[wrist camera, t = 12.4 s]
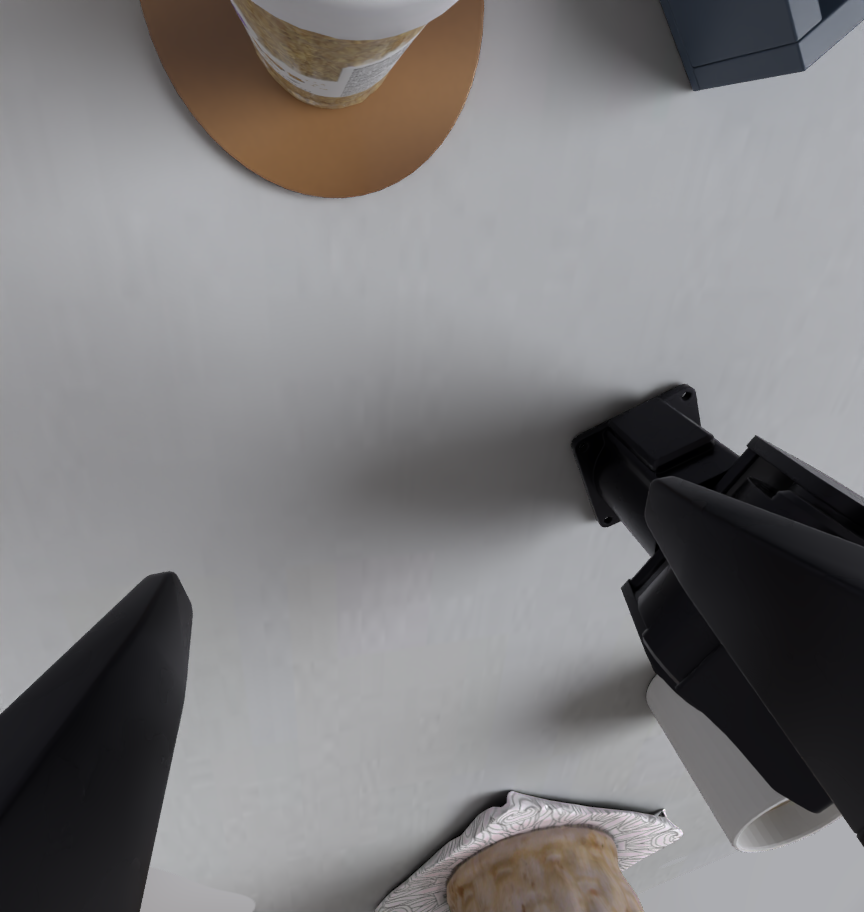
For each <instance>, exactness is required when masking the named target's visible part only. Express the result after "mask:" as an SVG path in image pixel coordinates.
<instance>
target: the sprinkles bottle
mask: <svg viewBox="0 0 864 912" xmlns="http://www.w3.org/2000/svg"><path fill="white" fill-rule="evenodd" d="M230 1H231V3H232V5H233V7H234V8H235V10H236V12H237V14H238V16H239V18H240V19H241V21H242V23H243V25H244V27H245V29H246V31H247V32H248V34H249V36H250V38H251V40H252V42H253V46H254V48H255V50H256V53H257V55H258V56H259V58H260V60H261V61H262V63H263V65H264V66H265V68H266V69H267V71H268V72H269V73H270V74H271V75H272V77H273V78H274V79H275V80H276V81H277V82H278V83H279V84H280V85H281V86H282V87H283V88H284V89H285V90H286V91H288V92H289V93H290V94H291V95H293V96H294V97H295V98H297V99H298V100H300V101H302V102H304V103H307V104H310V105H313V106H316V107H319V108H329V109H340V108H344V107H348V106H351V105H356V104H359V103H361V102H363V101H364V100H365V99H366V98H367V97H368V96H369V95H370V94H372V93H373V92H375V91H376V90H377V89H378V88H379V86H380V85H381V84H382V83H383V81H384V80H385V78H386V77H387V75H388V73H389V71H390V70H391V69H392V67H393V66H394V65H395V63H396V62H397V61H398V59H399V58H400V57H401V56H402V54H403V53H404V52H405V50H406V49H407V48H408V47H409V45H410V44H411V43H412V41H413V40H414V39H415V38H416V37H417V35H418V34H419V33H420V32H421V31H422V29H423V28H424V27H425V26H426V25H427V23H428V22H430V21H432V20H433V19H435V18H437V17H438V16H440V15H442V14H443V13H444V12H445V11H447V10H448V9H449V8H450V7H451V6H453V5H454V4H455V3H456V2H457V1H459V0H230Z"/></svg>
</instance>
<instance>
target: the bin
mask: <svg viewBox="0 0 864 912" xmlns="http://www.w3.org/2000/svg"><path fill="white" fill-rule="evenodd" d="M660 3H661V6H662V8H663V11H664V14H665V16H666V19H667V22H668V24H669V27H670V30H671V32H672V35H673V38H674V40H675V43H676V46H677V48H678V51H679V54H680V57H681V59H682V62H683V65H684V67H685V70H686V73H687V75H688V78H689V81H690V83H691V86H692V89H693V91H698V90H703V89H708V88H714V87H719V86H725V85H730V84H736V83H741V82H747V81H752V80H758V79H764V78H769V77H775V76H780V75H786V74H791V73H797V72H802V71H805V70H806V69H807V68H808V67H810V66H811V65H812V64H813V63H814V62H815V61H816V60H818V59H819V58H820V57H821V56H822V55H823V54H825V53H826V52H827V51H828V50H829V49H830V48H832V47H833V46H834V45H835V44H836V43H837V42H839V41H840V40H841V39H842V38H843V37H844V36H846V35H847V34H848V33H849V32H850V31H851V30H853V29H854V28H855V27H856V26H857V25H858V24H859V23H861V22H862V21H863V20H864V0H660Z"/></svg>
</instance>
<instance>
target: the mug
mask: <svg viewBox="0 0 864 912" xmlns="http://www.w3.org/2000/svg"><path fill="white" fill-rule="evenodd" d="M646 698H647V703H648V706H649V708H650V709H651V711H652V713H653V714H654V716H655V718H656V719H657V721H658V723H659V724H660V726H661V728H662V729H663V731H664V733H665V734H666V736H667V738H668V739H669V741H670V743H671V744H672V746H673V748H674V749H675V751H676V753H677V754H678V756H679V758H680V759H681V761H682V763H683V764H684V766H685V768H686V769H687V771H688V773H689V774H690V776H691V778H692V779H693V781H694V783H695V784H696V786H697V788H698V789H699V791H700V793H701V794H702V796H703V798H704V799H705V801H706V803H707V804H708V806H709V808H710V809H711V811H712V813H713V814H714V816H715V818H716V819H717V821H718V823H719V824H720V826H721V828H722V829H723V831H724V833H725V834H726V836H727V838H728V839H729V841H730V843H731V844H732V846H733V847H734V848H736V849H737V850H739V851H741V852H762V851H768V850H772V849H776V848H779V847H782V846H785V845H789V844H791V843H794V842H797V841H799V840H801V839H804V838H806V837H808V836H810V835H812V834H814V833H816V832H818V831H820V830H822V829H824V828H825V827H827V826H828V825H830V824H832V823H833V822H835V821H836V820H838V819H839V818H840V817H842V814H841V813H840V812H839V810H838V809H837V807H836V806H835V804H833V805H831V806H830V807H828V808H827V809H825V810H824V811H822V812H821V813H819V814H816V813H812V812H810V811H808V810H806V809H804V808H802V807H801V806H799V805H797V804H796V803H794V802H792V801H791V800H789V799H787V798H786V797H784V796H782V795H781V794H779V793H777V792H776V791H775V790H773V789H772V788H771V787H770V786H769V784H768V783H767V782H766V781H765V780H764V779H763V777H762V776H761V775H760V774H759V773H758V771H757V770H756V769H755V768H754V767H753V766H752V764H751V763H750V762H749V761H748V760H747V759H746V757H745V756H744V755H743V754H742V753H741V752H740V750H739V749H738V748H737V747H736V746H735V745H734V744H733V743H732V742H731V740H730V739H729V738H728V737H727V736H726V735H725V734H724V733H723V732H722V731H721V730H720V729H719V728H718V727H717V726H716V725H715V724H714V723H713V722H712V721H711V720H709V719H708V718H707V717H706V716H705V715H704V714H703V713H702V712H700V711H698V710H697V709H695V708H694V707H693V706H691V705H690V704H688V703H687V702H686V701H685V700H683V699H682V698H681V697H680V696H679V695H678V694H676V693H675V692H674V691H673V690H672V689H671V688H670V687H669V686H668V685H667V683H666V682H665V681H664V680H663V679H662V678H661V677H659V676H658V675H656V676H655V677H654V679H653V680H652V682H651V683H650V685H649V687H648V690H647V694H646Z"/></svg>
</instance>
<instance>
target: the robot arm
mask: <svg viewBox="0 0 864 912" xmlns="http://www.w3.org/2000/svg"><path fill="white" fill-rule="evenodd" d="M685 392H686V394H685V395H684V396H683V397H682V395H683V394H684V393H685ZM681 397H682V398H681ZM582 443H585V444H584V445H583V446H582V447H579V446H580V445H581V444H582ZM747 447H748V448H747V449H746V451H745V452H744V453H743V454H742V455H741V456H739V455H737V454H736V453H734V452H733V451H731V450H730V449H729V448H727V447H726V446H724V445H723V444H722V443H720V442H719V441H717V440H716V439H715V438H714V436H713V435H712V434H710V433H709V432H708V431H706V430H705V429H703V428H702V427H701V424H700V417H699V411H698V404H697V398H696V392H695V389H693V388H692V387H690V386H689V385H687V384H682V385H679V386H677V387H675V388H673V389H671V390H669V391H667V392H665V393H663V394H661V395H659V396H657V397H655V398H653V399H651V400H649V401H647V402H645V403H643V404H641V405H639V406H637V407H635V408H633V409H631V410H629V411H627V412H624V413H622V414H620V415H618V416H616V417H614V418H612V419H610V420H608V421H606V422H604V423H602V424H600V425H598V426H596V427H594V428H592V429H590V430H588V431H586V432H584V433H582V434H580V435H578V436H577V437H575V438H574V439H573V441H572V443H571V448H572V451H573V454H574V457H575V459H576V462H577V465H578V468H579V471H580V474H581V477H582V480H583V482H584V485H585V488H586V491H587V494H588V497H589V500H590V503H591V506H592V508H593V511H594V514H595V517H596V520H597V521H598V523H599V524H600V525H601V526H602V527H609V526H611V525H613V524H615V523H618V522H620V521H622V523H623V524H624V525H625V526H626V527H627V529H628V530H629V531H630V532H631V533H632V535H633V536H634V537H635V538H636V539H637V541H638V542H639V543H640V544H641V545H642V547H643V548H644V549H645V550H646V551H647V553H648V554H649V555H650V556H651V558H650V559H649V560H648V561H647V562H646V564H645V565H644V566H643V567H642V568H641V569H640V570H639V571H638V573H637V574H636V575H635V576H634V577H633V578H632V579H629V580H628V581H627V582H626V583H625V584H624V585H623V586H622V587H621V590H622V592H623V595H624V597H625V600H626V603H627V605H628V608H629V611H630V613H631V616H632V618H633V621H634V624H635V626H636V629H637V631H638V634H639V637H640V639H641V642H642V645H643V647H644V650H645V652H646V654H647V657H648V659H649V661H650V663H651V665H652V668H653V670H654V671H655V673H656V674H657V675H658V676H659V677H661V678H662V679H663V680H664V681H665V682H666V683H667V685H668V686H669V687H670V688H671V689H672V690H673V691H674V692H675V693H676V694H678V695H679V696H680V697H681V698H682V699H683V700H685V701H686V702H687V703H688V704H690V705H691V706H693V707H694V708H695V709H697V710H698V711H700V712H702V713H703V714H704V715H705V716H706V717H707V718H708V719H709V720H711V721H712V722H713V723H714V724H715V725H716V726H717V727H718V728H719V729H720V730H721V731H722V732H723V733H724V734H725V735H726V736H727V737H728V738H729V739H730V740H731V742H732V743H733V744H734V745H735V746H736V747H737V748H738V749H739V750H740V752H741V753H742V754H743V755H744V756H745V757H746V759H747V760H748V761H749V762H750V763H751V764H752V766H753V767H754V768H755V769H756V770H757V771H758V773H759V774H760V775H761V776H762V777H763V779H764V780H765V781H766V782H767V783H768V784H769V786H770V787H771V788H772V789H773V790H775V791H776V792H777V793H779V794H781V795H782V796H784V797H786V798H787V799H789V800H791V801H792V802H794V803H796V804H797V805H799V806H801V807H802V808H804V809H806V810H808V811H810V812H812V813H816V814H819V813H821V812H822V811H824V810H825V809H827V808H828V807H830V806H831V805H833V804H835V806H836V807H837V809H838V810H839V812H840V813H841V814H842V816H843V817H844V819H845V820H846V821H847V823H848V824H849V826H850V827H851V829H852V830H853V831H854V833H857V838H858V839H859V841H860V842H861V843H862V845H863V846H864V498H863V497H862V496H860V495H858V494H857V493H855V492H853V491H852V490H850V489H849V488H847V487H845V486H844V485H842V484H840V483H839V482H837V481H835V480H834V479H832V478H831V477H829V476H827V475H826V474H824V473H822V472H821V471H819V470H817V469H815V468H814V467H812V466H810V465H808V464H807V463H805V462H803V461H801V460H799V459H798V458H796V457H794V456H792V455H790V454H789V453H787V452H785V451H783V450H782V449H780V448H778V447H776V446H774V445H773V444H771V443H769V442H767V441H765V440H764V439H762V438H760V437H758V436H756V435H755V437H754V438H753V439H752V440H751V441H750V442H749V443H748V445H747ZM606 517H607V518H606ZM605 518H606V519H605ZM192 618H193V611H192V605H191V602H190V600H189V598H188V596H187V594H186V592H185V590H184V588H183V586H182V584H181V582H180V580H179V578H178V576H177V575H176V574H175V573H174V572H171V571H168V572H163V573H157V574H152V575H149V576H147V577H146V578H144V579H143V580H142V581H141V582H140V583H139V584H138V585H137V586H136V587H135V588H134V589H133V590H132V591H131V592H129V593H128V594H127V595H126V596H125V597H124V598H123V599H122V600H121V601H120V602H119V603H118V604H117V605H116V606H115V607H114V608H113V609H111V610H110V611H109V612H108V613H107V614H106V615H105V616H104V617H103V618H102V619H101V620H100V621H99V622H98V623H97V624H96V625H95V626H93V627H92V628H91V629H90V630H89V631H88V632H87V633H86V634H85V635H84V636H83V637H82V638H81V639H80V640H79V641H78V642H77V643H75V644H74V645H73V646H72V647H71V648H70V649H69V650H68V651H67V652H66V653H65V654H64V655H63V656H62V657H61V658H60V659H58V660H57V661H56V662H55V663H54V664H53V665H52V666H51V667H50V668H49V669H48V670H47V671H46V672H45V673H44V674H43V675H42V676H40V677H39V678H38V679H37V680H36V681H35V682H34V683H33V684H32V685H31V686H30V687H29V688H28V689H27V690H26V691H25V692H24V693H22V694H21V695H20V696H19V697H18V698H17V699H16V700H15V701H14V702H13V703H12V704H11V705H10V706H9V707H8V708H7V709H5V710H4V711H3V712H2V713H1V714H0V912H140V908H141V903H142V898H143V894H144V889H145V884H146V879H147V874H148V870H149V865H150V861H151V856H152V851H153V846H154V842H155V837H156V832H157V828H158V823H159V818H160V813H161V809H162V804H163V799H164V795H165V790H166V785H167V780H168V776H169V771H170V766H171V762H172V757H173V752H174V747H175V743H176V738H177V733H178V729H179V724H180V719H181V714H182V709H183V704H184V698H185V691H186V682H187V671H188V660H189V650H190V639H191V628H192Z"/></svg>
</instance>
